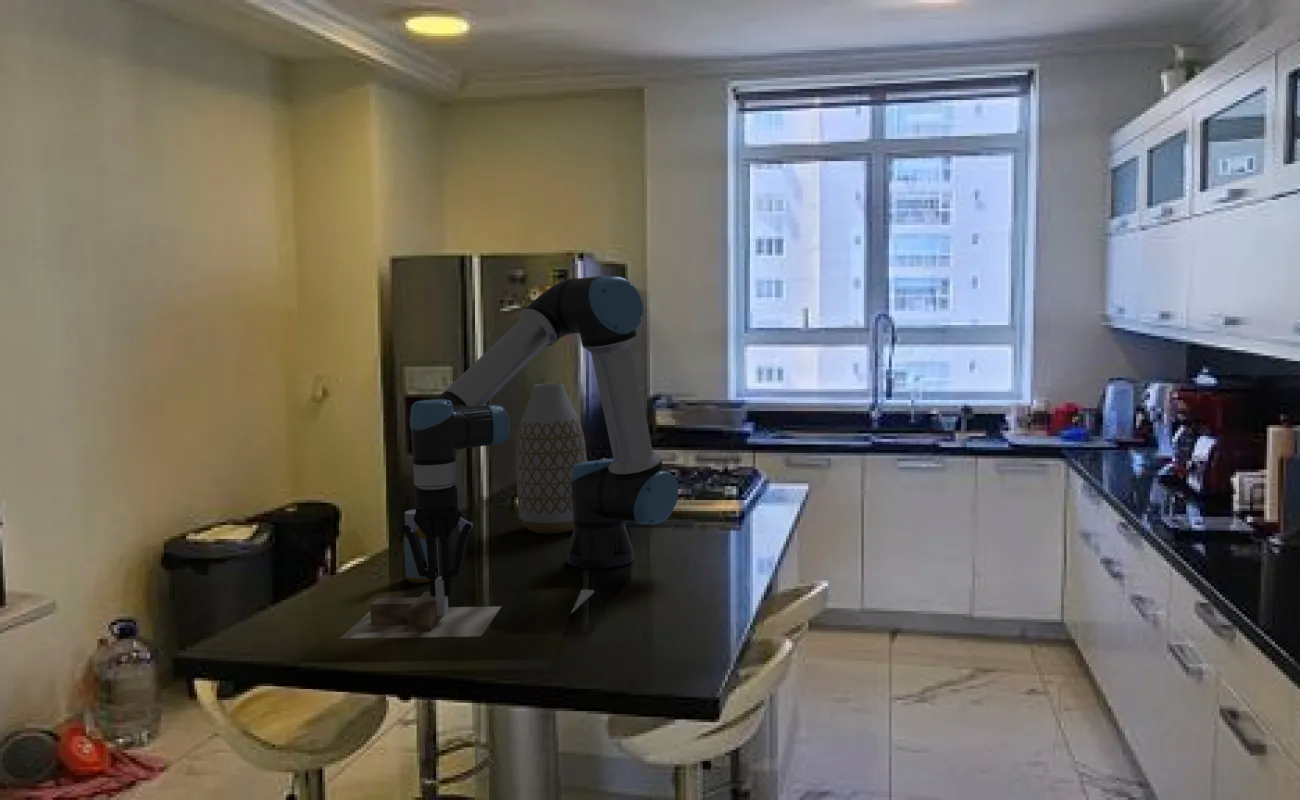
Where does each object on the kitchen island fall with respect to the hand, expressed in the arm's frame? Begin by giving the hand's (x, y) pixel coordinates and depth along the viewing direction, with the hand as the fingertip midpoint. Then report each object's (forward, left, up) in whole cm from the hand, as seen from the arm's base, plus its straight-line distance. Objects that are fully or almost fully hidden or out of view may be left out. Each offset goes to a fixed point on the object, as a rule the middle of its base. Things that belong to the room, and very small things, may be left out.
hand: (442, 613), depth 191 cm
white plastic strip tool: (-21, -15, -3) cm, 27 cm away
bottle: (+13, -35, -3) cm, 37 cm away
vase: (-8, -84, -3) cm, 84 cm away
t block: (+7, 0, -2) cm, 7 cm away
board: (+4, 0, -3) cm, 5 cm away
